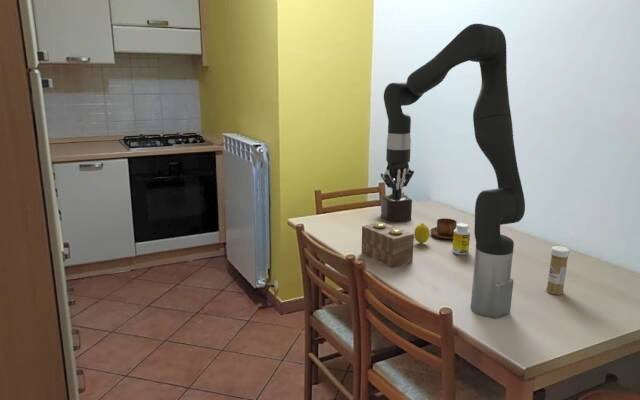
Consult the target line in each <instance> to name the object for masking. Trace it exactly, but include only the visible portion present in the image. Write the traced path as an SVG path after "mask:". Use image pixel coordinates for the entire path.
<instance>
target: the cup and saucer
mask: <svg viewBox="0 0 640 400" xmlns="http://www.w3.org/2000/svg"><path fill="white" fill-rule="evenodd" d="M457 222H458V221H457V220H455V219H452V218H445V217H444V218H443V217H442V218H438V219H437V220H436V227H432V228H431V229H429V232H430V234H432V236H434V237H436V238H440V239H443V240H445V239H446V240H453V235H454V230H455V229H456V227H457V224H458V223H457Z"/></svg>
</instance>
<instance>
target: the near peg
mask: <svg viewBox="0 0 640 400" xmlns="http://www.w3.org/2000/svg"><path fill="white" fill-rule="evenodd" d="M400 229H401V228H400ZM400 229H390V234H393V235H399V234H401V233H402V230H403V229H402V230H400Z"/></svg>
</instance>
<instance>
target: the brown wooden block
mask: <svg viewBox="0 0 640 400" xmlns="http://www.w3.org/2000/svg"><path fill="white" fill-rule="evenodd" d="M378 223H384V224H386V226H385V228H382V229H377V228H375V227H374V223H371V224H367V225H362V227H361V255H364V256H366V257H368V258H370V259H372V260H375V261H377V262H379V263H381V264H383V265H385V266H387V267H390V268H392V269H394V268H398V267H401V266H404V265H408V264H411V263H413V261H414V242H415V241H414V240H415V236H414V232H410V231H408V230H405V229H402V228H399V227H398V226H394V225H391V224H388V223H386V222H384V221H381V222H378ZM390 229H400V230H402V233H401V234H399V235H393V234H390Z"/></svg>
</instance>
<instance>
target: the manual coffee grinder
mask: <svg viewBox="0 0 640 400" xmlns="http://www.w3.org/2000/svg"><path fill="white" fill-rule="evenodd" d="M400 179H401V178H400ZM399 183H400V182H399ZM412 205H413V201H412V199H411V198H409V197H408V196H407V195H406V194H405V192H402V193H401V200H398V201H395V200H393V198H392V193H391V194H388V195H381V196H380V216H381V218H382V219H384V220H385V221H387V222H388V223H401V222H402V223H403V222H410V221H412V208H413V206H412Z"/></svg>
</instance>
